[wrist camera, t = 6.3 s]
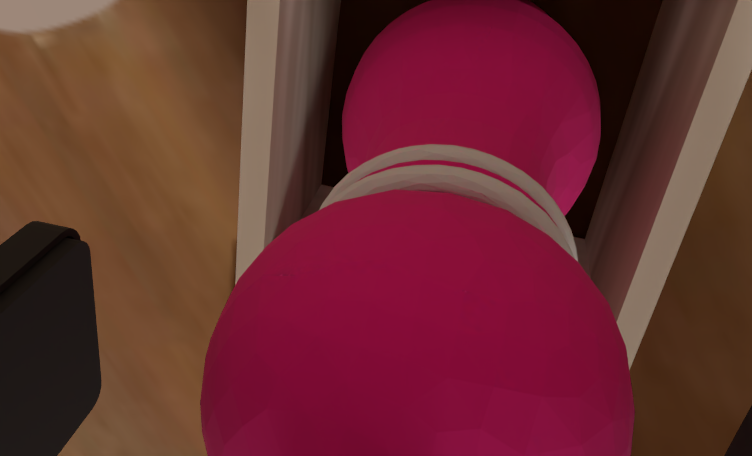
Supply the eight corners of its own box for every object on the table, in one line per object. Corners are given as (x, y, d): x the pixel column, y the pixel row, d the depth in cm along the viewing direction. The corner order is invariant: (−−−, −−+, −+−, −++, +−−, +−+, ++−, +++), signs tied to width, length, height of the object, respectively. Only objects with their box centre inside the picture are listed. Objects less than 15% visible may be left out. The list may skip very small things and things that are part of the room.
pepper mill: (363, 160, 26) (39, 778, 9) (386, -46, 22) (-82, 302, 5) (559, 196, 25) (634, 953, 8) (615, -12, 22) (969, 530, 4)
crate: (716, -73, 20) (796, -41, 14) (600, 261, 26) (622, 386, 20) (329, -135, 22) (252, -130, 16) (299, 199, 27) (234, 298, 21)
